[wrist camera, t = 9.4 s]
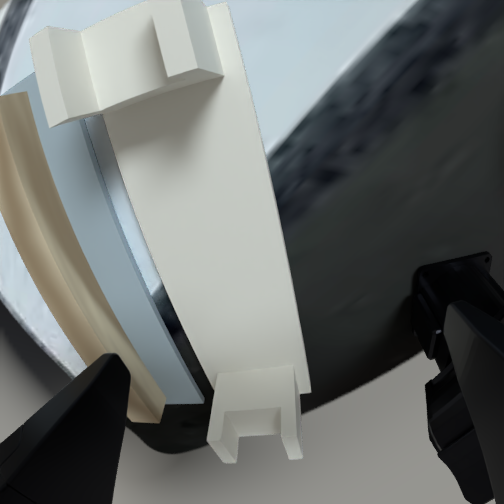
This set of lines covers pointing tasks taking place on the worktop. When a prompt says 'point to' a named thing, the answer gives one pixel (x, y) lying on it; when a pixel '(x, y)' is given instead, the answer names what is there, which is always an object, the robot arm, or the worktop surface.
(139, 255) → the worktop surface
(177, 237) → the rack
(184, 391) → the mat
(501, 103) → the worktop surface
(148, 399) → the rail
